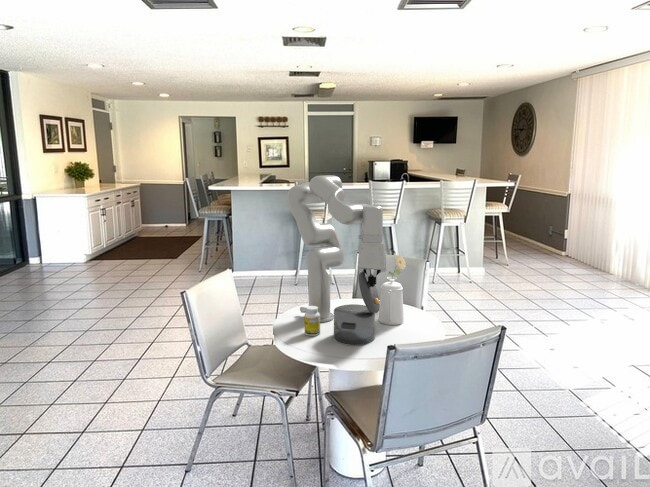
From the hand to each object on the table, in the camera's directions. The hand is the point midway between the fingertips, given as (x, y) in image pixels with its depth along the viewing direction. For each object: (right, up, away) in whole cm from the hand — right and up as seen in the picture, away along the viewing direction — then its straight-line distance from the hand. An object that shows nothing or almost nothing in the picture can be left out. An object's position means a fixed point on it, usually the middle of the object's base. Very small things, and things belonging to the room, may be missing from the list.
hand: (372, 286), depth 181 cm
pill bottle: (-23, -20, +10) cm, 32 cm away
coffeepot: (+10, -18, +24) cm, 31 cm away
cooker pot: (-7, -21, +6) cm, 23 cm away
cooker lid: (-2, -3, +1) cm, 3 cm away
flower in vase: (+14, -14, +46) cm, 50 cm away
